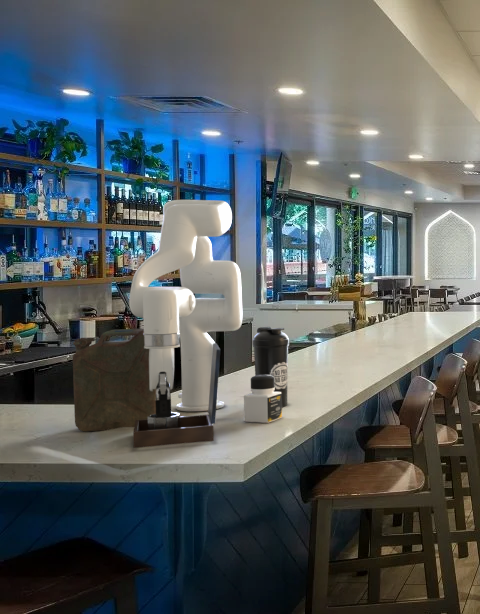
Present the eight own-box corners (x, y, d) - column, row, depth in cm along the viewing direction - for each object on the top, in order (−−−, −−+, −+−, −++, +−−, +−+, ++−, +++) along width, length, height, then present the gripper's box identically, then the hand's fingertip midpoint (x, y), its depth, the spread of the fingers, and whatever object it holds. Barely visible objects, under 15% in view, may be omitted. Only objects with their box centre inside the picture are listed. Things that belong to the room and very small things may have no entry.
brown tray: (133, 451, 177) (133, 432, 177) (135, 437, 190) (135, 420, 190) (213, 443, 184) (213, 425, 184) (210, 431, 197) (209, 414, 197)
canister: (162, 422, 208) (159, 327, 206) (156, 428, 200) (153, 330, 198) (82, 426, 203) (79, 329, 201) (72, 433, 195) (69, 332, 193)
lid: (216, 349, 183) (220, 349, 183) (213, 343, 196) (216, 343, 197) (211, 423, 184) (215, 423, 184) (208, 412, 197) (211, 412, 197)
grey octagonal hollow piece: (143, 438, 185) (142, 415, 185) (170, 433, 191) (169, 411, 190) (158, 442, 182) (158, 419, 181) (185, 437, 187) (185, 414, 187)
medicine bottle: (268, 423, 207) (267, 377, 206) (243, 422, 208) (242, 377, 207) (282, 417, 214) (281, 374, 213) (258, 416, 215) (257, 373, 214)
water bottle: (269, 410, 224) (268, 329, 223) (246, 406, 229) (244, 328, 228) (297, 404, 233) (296, 327, 231) (274, 401, 238) (273, 325, 237)
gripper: (144, 338, 191) (146, 408, 192) (143, 345, 175) (145, 421, 176) (178, 337, 194) (180, 406, 195) (180, 343, 178) (181, 418, 179)
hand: (163, 413), depth 185 cm, fingers open, 9 cm apart
